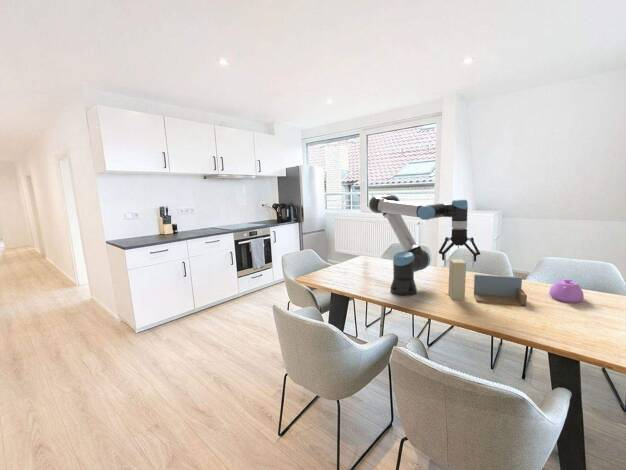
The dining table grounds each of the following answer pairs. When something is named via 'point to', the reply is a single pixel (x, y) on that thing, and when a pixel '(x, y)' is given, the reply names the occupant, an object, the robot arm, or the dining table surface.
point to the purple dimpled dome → (566, 291)
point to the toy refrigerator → (457, 279)
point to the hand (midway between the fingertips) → (458, 266)
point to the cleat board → (499, 290)
